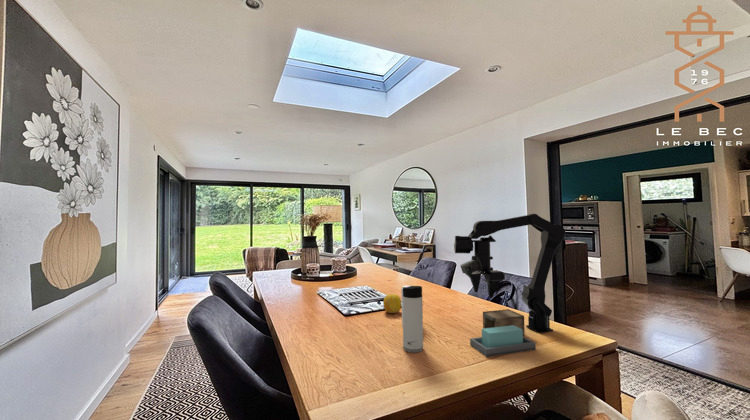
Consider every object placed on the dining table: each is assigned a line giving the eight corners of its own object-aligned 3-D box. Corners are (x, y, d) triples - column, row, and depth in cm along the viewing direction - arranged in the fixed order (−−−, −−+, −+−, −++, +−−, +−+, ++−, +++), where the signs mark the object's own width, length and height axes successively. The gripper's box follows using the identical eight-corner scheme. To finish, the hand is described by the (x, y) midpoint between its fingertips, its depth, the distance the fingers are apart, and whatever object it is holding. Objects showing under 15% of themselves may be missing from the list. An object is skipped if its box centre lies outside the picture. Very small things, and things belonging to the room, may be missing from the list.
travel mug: (411, 355, 91) (410, 288, 91) (399, 347, 97) (398, 284, 97) (427, 350, 94) (426, 286, 94) (415, 343, 99) (414, 282, 100)
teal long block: (514, 340, 99) (513, 325, 99) (522, 345, 95) (522, 329, 95) (482, 344, 96) (481, 328, 96) (489, 349, 92) (489, 333, 92)
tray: (516, 339, 102) (516, 332, 102) (535, 349, 94) (535, 342, 94) (470, 345, 97) (470, 338, 97) (486, 357, 89) (486, 349, 89)
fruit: (381, 310, 135) (380, 292, 136) (398, 308, 137) (397, 291, 138) (386, 316, 127) (386, 297, 127) (404, 314, 129) (404, 296, 129)
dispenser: (508, 328, 112) (508, 309, 112) (524, 336, 104) (524, 315, 105) (481, 331, 109) (481, 311, 109) (495, 339, 102) (495, 318, 102)
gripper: (451, 251, 122) (451, 290, 121) (477, 257, 104) (478, 303, 103) (475, 250, 125) (476, 288, 124) (505, 256, 107) (506, 300, 106)
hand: (483, 294), depth 114 cm, fingers open, 9 cm apart
